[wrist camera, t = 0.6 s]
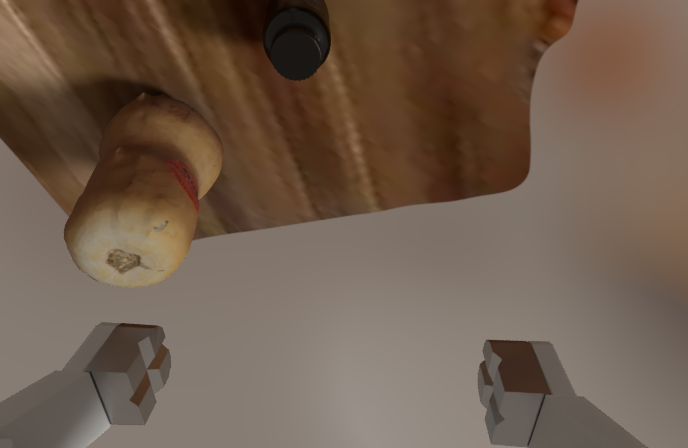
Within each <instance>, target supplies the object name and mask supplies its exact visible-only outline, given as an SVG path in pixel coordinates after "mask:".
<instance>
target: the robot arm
mask: <svg viewBox="0 0 688 448" xmlns="http://www.w3.org/2000/svg"><path fill="white" fill-rule="evenodd" d="M164 338H165V334H164V331H163V328H162V327H160V326H156V325H140V324H126V323H121V324H119V323H105V322H102V323H100V324H99V325H97V326H96V327H95V328H94V329H93V331H92V332H91V333H90V335H89V336H88V337H87V338H86V340H85V341H84V342H83V344H82V345H81V346H80V347H79V349H78V350H77V351H76V353H75V354H74V355H73V356H72V358H71V359H70V360H69V362H68V363H67V364H66V366H65V367H64V368H63V370H62V371H54V372H53V373H51V374H49V375H47V376H45V377H44V378H42V379H40V380H38V381H37V382H35V383H33V384H31V385H30V386H28V387H26V388H25V389H23V390H21V391H19V392H18V393H16V394H14V395H12V396H11V397H9V398H7V399H6V400H4V401H2V402H0V448H86V447H87V446H88V445H90V444H91V443H92V442H93V441H94V440H95V439H96V438H98V437H99V436H100V435H101V434H102V433H103V432H105V431H106V430H107V429H108V428H109V427H110V426H111V425H110V424H119V425H145V424H146V422H147V420H148V418H149V416H150V414H151V412H152V410H153V408H154V406H155V404H156V399H155V396H154V394H155V393H156V392H158V391H159V390H160V389H162V388H163V387H164V385H165V384H166V381H167V379H168V377H169V372H170V368H171V356H170V352H169V349H167V348H166V347H165V346H164V345H163V344H162V342H163V340H164ZM483 355H484V358H485V360H484V361H483V362H482V363H481V364H480V366H479V371H478V390H479V396H480V401H481V403H482V405H484V407H486V408H487V412H486V416H485V421H486V426H487V430H488V434H489V438H490V442H491V444H494V445H506V446H518V447H528V448H648V447H646V446H645V445H644V444H642V443H641V442H640V441H639V440H638V439H636V438H635V437H633V436H632V435H631V434H630V433H629V432H627V431H626V430H625V429H624V428H622V427H621V426H620V425H619V424H617V423H616V422H615V421H613V420H612V419H611V418H610V417H609V416H607V415H606V414H605V413H603V412H602V411H601V410H600V409H598V408H597V407H596V406H595V405H593V404H592V403H591V402H590V401H588V400H587V399H586V398H584V397H581V396H577V395H576V393H575V391H574V389H573V387H572V384H571V383H570V380H569V378H568V376H567V374H566V372H565V370H564V368H563V365H562V363H561V361H560V359H559V357H558V355H557V353H556V351H555V349H554V346H553V345H552V344H551V343H550V342H545V341H528V342H527V341H511V340H486V341H485V343H484V347H483Z"/></svg>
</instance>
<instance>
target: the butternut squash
mask: <svg viewBox="0 0 688 448" xmlns="http://www.w3.org/2000/svg"><path fill="white" fill-rule="evenodd" d="M99 155H100V161H99V163H98V164H97V166H96V168H95V170H94V171H93V173H92V175H91V177H90V179H89V181H88V183H87V185H86V188H85V190H84V192H83V194H82V195H81V196H80V197H79V198H78V200H77V203H76V205H75V207H74V209H73V211H72V214H71V215H70V217H69V219H68V220H67V222H66V225H65V229H64V239H65V242H66V244H67V248H68V250H69V252H70V254H71V257H72V259H73V261H74V263H75V264H76V265H77V267H78V268H79V269H80V270H81V271H83V272H84V273H85V274H87V275H88V276H89V277H91V278H92V279H94V280H96V281H98V282H102V283H105V284H108V285H112V286H117V287H126V288H137V287H143V286H149V285H153V284H156V283H158V282H161V281H162V280H163V279H165V278H167V277H168V276H169V275H171V274H172V273H173V272H174V271H175V270H176V269H177V268H178V267H179V265H180V264H181V262H182V261H183V259H184V258H185V256H186V255H187V253H188V251H189V248H190V245H191V242H192V239H193V235H194V232H195V229H196V225H197V219H198V213H199V199H201V198H202V197H203V196H204V195H205V194H206V193H207V191H208V190H209V189H210V188H211V187H212V185H213V183H214V182H215V181H216V179H217V177H218V175H219V173H220V170H221V168H222V164H223V144H222V142H221V140H220V138H219V136H218V134H217V133H216V131H215V130H214V129H213V128H212V127H211V126H210V125H209V123H208V122H207V121H206V120H205V119H204V118H203V117H202V116H201V115H200V114H199V113H198V112H197V111H196V110H195V109H194V108H192V107H190V106H189V105H187V104H185V103H184V102H181V101H179V100H176V99H172V98H169V97H167V96H166V95H164V94H159V95H155V96H153V95H148V94H146V93H140V94H139V95H138V97H137V98H135V99H134V100H132V101H131V102H129V103H127V104H126V105H125V106H123V107H122V108H121V109H120V110H119V111H118V112H117V114H116V115H115V116H114V117H113V118H112V119H111V120H110V121H109V123H108V124H107V126H106V128H105V130H104V132H103V134H102V141H101V144H100V150H99Z"/></svg>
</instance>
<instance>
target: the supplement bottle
mask: <svg viewBox="0 0 688 448" xmlns="http://www.w3.org/2000/svg"><path fill="white" fill-rule="evenodd" d="M262 40H263V47H264V50H265V53H266V55H267V57H268V59H269V60H270V61H271V63H272V64H273V65H274V68H275V69H276V70H277V72H278V73H280V74H281V76H284V77H285V78H288V79H290V80H294V81H296V80H299V81H300V80H305V79H306V78H309V77H310V76H312V75H313V74H314V73H315V72H316V71H317V69H318V68H319V67H320V66H321V65H322V64H323V63H324V62H325V60H326V59H327V57H328V54H329V51H330V46H331V35H330V24H329V15H328V9H327V6H326V3H325V1H324V0H271V1H270V3H269V6H268V10H267V15H266V19H265V24H264V29H263V37H262Z"/></svg>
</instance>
